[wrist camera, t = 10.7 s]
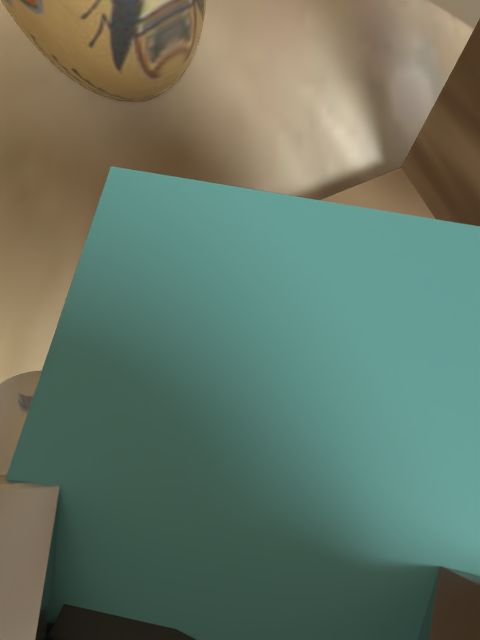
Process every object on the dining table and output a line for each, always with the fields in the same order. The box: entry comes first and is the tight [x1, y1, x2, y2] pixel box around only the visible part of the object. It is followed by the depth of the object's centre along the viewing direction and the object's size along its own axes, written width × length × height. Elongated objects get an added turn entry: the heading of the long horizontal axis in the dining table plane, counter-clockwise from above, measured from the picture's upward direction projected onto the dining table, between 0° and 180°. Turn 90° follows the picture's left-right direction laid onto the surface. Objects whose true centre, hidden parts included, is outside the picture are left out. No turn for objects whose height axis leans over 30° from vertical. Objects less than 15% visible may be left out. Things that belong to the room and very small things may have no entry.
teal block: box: [6, 166, 480, 640], centre depth 10 cm, size 5×5×10 cm
